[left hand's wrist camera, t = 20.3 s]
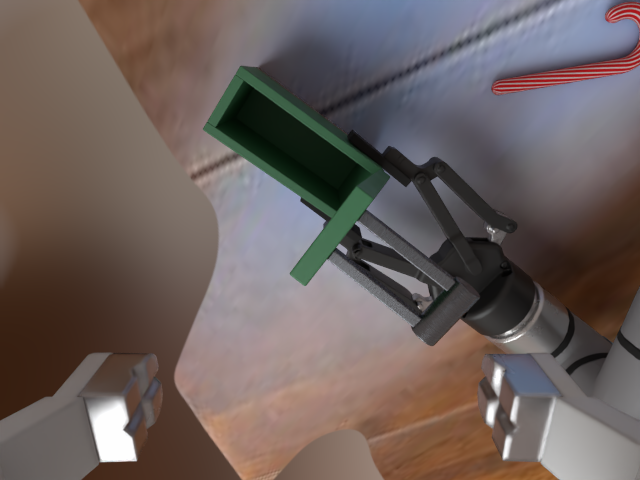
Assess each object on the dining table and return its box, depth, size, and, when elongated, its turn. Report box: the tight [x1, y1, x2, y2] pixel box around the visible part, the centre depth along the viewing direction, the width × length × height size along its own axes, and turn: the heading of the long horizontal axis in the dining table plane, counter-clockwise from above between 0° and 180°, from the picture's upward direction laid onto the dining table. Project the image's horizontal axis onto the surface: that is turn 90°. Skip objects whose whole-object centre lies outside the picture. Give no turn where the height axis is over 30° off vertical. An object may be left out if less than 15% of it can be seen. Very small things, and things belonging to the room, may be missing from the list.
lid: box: [290, 169, 480, 346], centre depth 28 cm, size 15×6×9 cm
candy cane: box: [492, 2, 640, 95], centre depth 39 cm, size 6×15×2 cm, turn 100°
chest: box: [203, 66, 384, 218], centre depth 39 cm, size 14×6×9 cm, turn 55°
